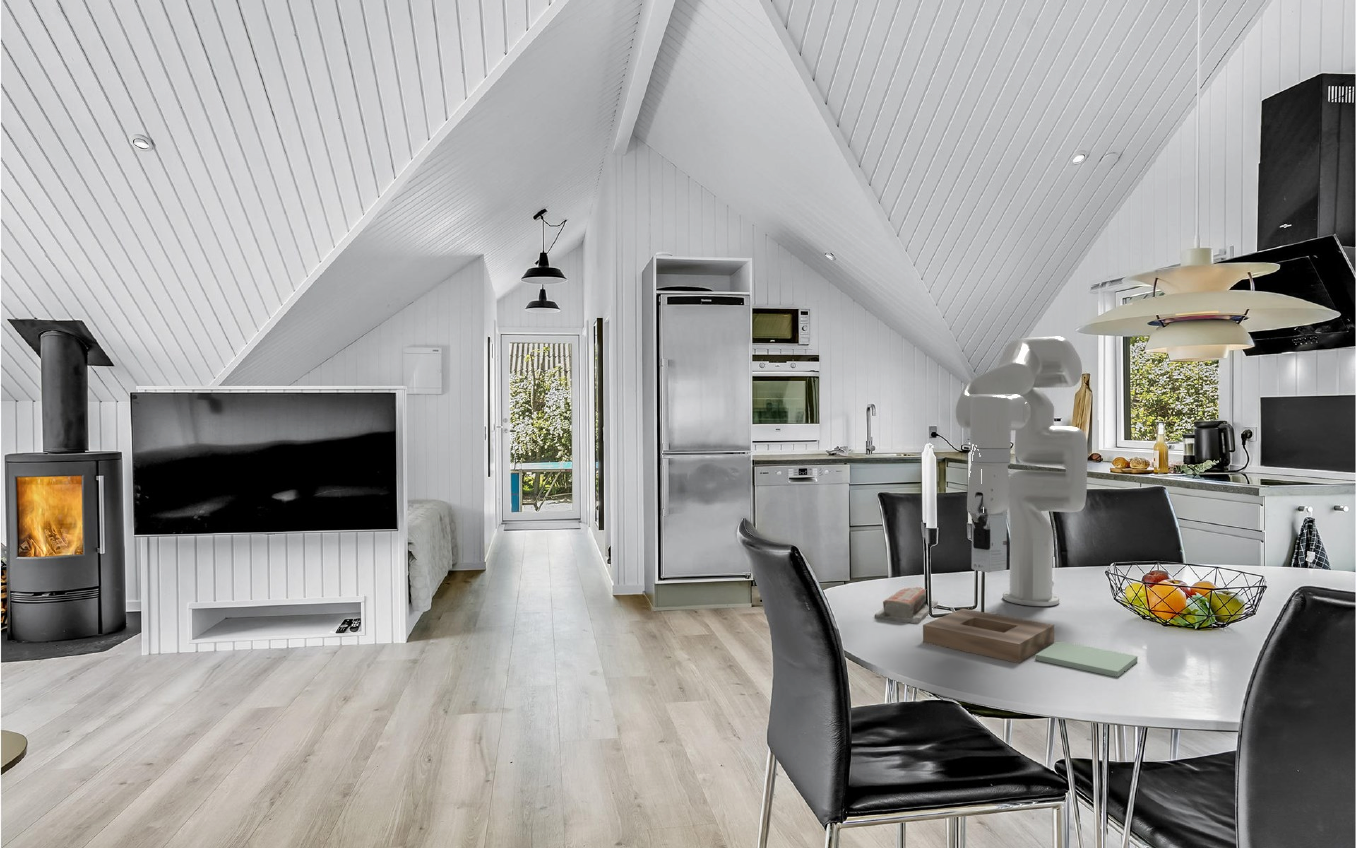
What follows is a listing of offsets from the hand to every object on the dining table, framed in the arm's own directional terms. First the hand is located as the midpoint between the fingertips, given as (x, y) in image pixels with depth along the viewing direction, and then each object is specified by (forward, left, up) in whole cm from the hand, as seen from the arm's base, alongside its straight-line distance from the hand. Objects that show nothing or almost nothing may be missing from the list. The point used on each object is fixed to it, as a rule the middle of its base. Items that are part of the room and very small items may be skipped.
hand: (989, 545), depth 162 cm
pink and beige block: (-11, -24, -20) cm, 33 cm away
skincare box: (0, 0, -5) cm, 5 cm away
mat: (-1, +18, -19) cm, 26 cm away
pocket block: (0, 0, -19) cm, 19 cm away
